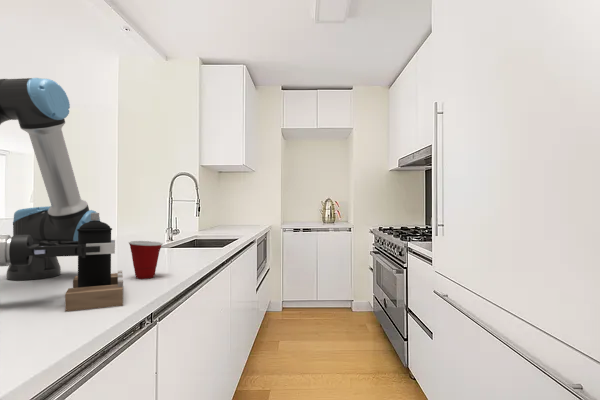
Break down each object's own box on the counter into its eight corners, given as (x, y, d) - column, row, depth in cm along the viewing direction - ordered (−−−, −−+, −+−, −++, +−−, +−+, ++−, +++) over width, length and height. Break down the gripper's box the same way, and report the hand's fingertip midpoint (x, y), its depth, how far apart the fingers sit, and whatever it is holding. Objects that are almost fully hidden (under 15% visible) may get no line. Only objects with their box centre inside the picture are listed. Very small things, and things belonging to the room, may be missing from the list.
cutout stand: (75, 290, 111) (75, 271, 111) (122, 286, 116) (122, 268, 116) (65, 311, 89) (65, 288, 90) (123, 305, 95) (123, 284, 95)
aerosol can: (101, 292, 98) (102, 213, 99) (69, 292, 98) (70, 213, 99) (117, 286, 107) (118, 212, 107) (87, 285, 107) (88, 212, 107)
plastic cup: (161, 279, 127) (162, 242, 127) (125, 281, 124) (125, 243, 124) (164, 273, 137) (164, 239, 137) (130, 275, 134) (130, 240, 134)
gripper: (20, 260, 104) (114, 255, 114) (-1, 272, 85) (114, 266, 95) (21, 232, 105) (115, 230, 114) (-1, 238, 86) (114, 235, 95)
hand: (114, 246), depth 105 cm, fingers closed on aerosol can, 8 cm apart
